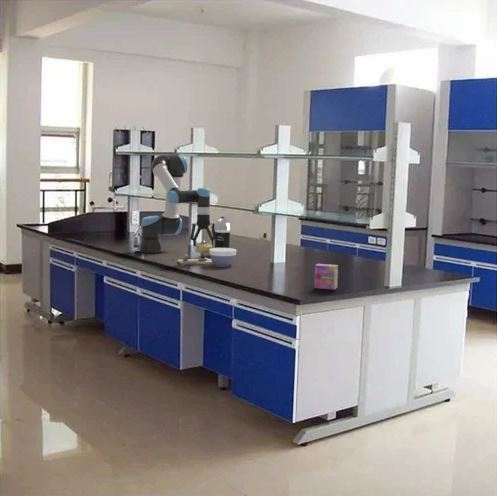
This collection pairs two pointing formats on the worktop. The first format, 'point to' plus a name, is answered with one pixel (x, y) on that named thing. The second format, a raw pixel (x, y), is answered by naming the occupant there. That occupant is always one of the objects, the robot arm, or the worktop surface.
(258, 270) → the worktop surface
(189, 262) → the birch board
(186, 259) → the short steel post
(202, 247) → the brass collar
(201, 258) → the tall steel post
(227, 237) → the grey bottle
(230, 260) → the bowl
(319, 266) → the box
